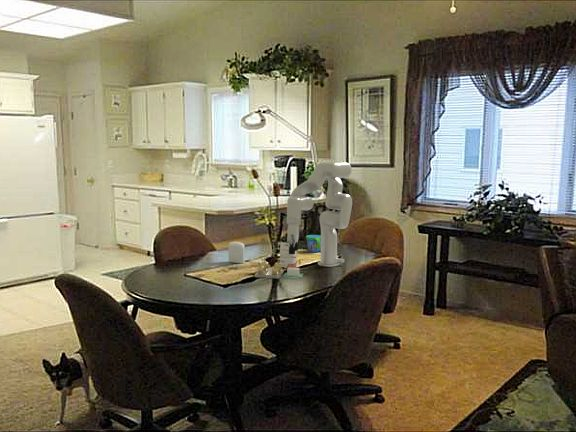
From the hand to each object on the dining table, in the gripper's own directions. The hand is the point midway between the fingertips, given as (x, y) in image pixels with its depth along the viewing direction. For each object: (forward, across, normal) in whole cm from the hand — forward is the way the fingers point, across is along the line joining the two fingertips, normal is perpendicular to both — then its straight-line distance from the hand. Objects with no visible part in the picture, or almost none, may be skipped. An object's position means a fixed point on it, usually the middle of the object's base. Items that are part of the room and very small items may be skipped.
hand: (293, 252), depth 300 cm
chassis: (+13, 0, -13) cm, 18 cm away
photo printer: (+13, -25, -38) cm, 47 cm away
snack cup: (+12, -67, +3) cm, 69 cm away
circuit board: (+13, 0, 0) cm, 13 cm away
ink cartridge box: (+13, -19, -6) cm, 24 cm away
